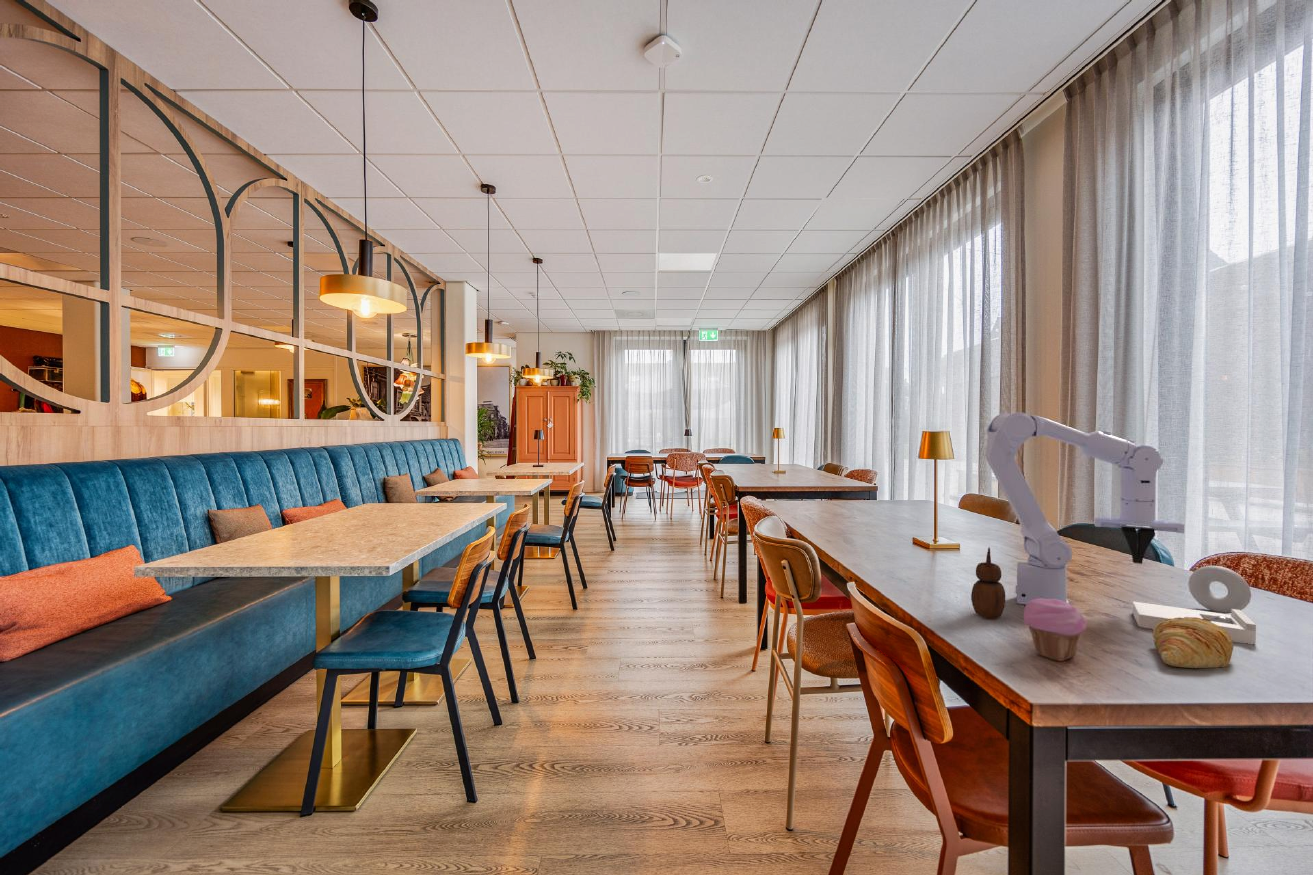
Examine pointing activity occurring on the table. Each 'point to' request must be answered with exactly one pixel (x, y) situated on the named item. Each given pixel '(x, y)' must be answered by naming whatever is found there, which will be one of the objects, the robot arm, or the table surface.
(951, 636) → the table surface
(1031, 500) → the robot arm
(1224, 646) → the croissant
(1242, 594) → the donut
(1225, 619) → the ball
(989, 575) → the wooden figurine
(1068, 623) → the cupcake
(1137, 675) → the table surface
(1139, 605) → the board
